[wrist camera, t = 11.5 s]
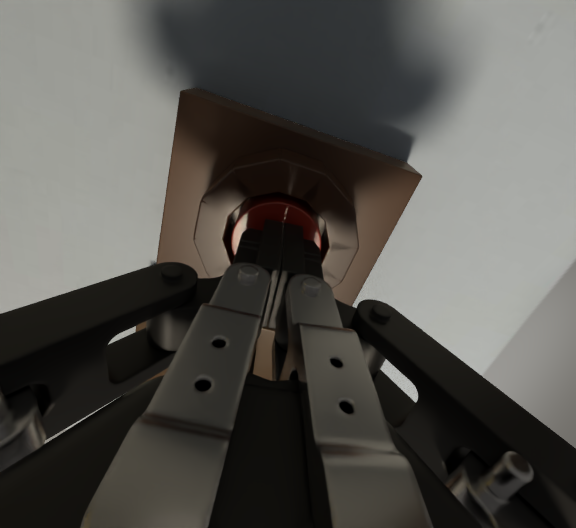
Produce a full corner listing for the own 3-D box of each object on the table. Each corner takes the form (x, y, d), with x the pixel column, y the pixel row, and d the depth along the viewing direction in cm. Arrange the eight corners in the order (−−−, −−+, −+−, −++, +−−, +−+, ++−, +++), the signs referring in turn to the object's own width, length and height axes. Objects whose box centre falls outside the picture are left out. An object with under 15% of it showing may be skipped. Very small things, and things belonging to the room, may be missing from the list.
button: (331, 202, 14) (335, 219, 12) (302, 270, 16) (303, 292, 14) (248, 176, 13) (243, 189, 12) (229, 249, 15) (222, 269, 14)
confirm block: (407, 162, 15) (439, 190, 12) (340, 293, 19) (350, 342, 16) (195, 87, 14) (163, 93, 11) (170, 245, 18) (140, 288, 14)
